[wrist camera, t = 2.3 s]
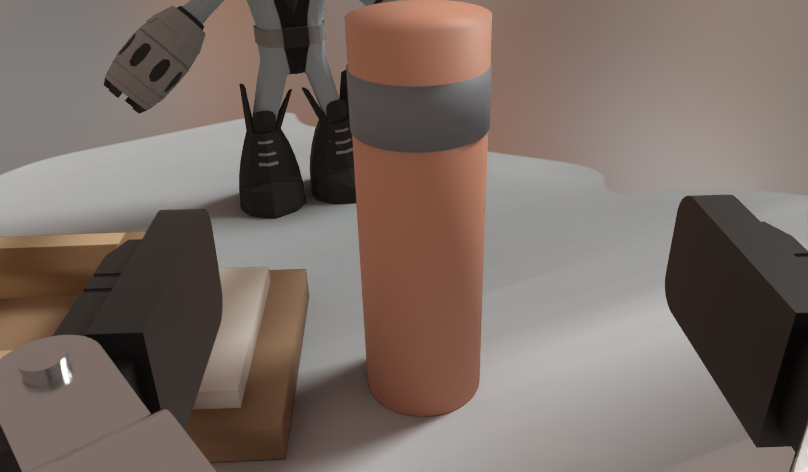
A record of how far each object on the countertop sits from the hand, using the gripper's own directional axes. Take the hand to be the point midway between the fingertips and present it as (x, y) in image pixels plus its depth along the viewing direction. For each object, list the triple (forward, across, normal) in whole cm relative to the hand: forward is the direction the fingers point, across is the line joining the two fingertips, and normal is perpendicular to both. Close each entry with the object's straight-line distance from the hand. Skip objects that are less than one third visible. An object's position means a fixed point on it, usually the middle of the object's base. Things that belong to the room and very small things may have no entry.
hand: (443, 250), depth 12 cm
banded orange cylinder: (+12, 0, +12) cm, 17 cm away
